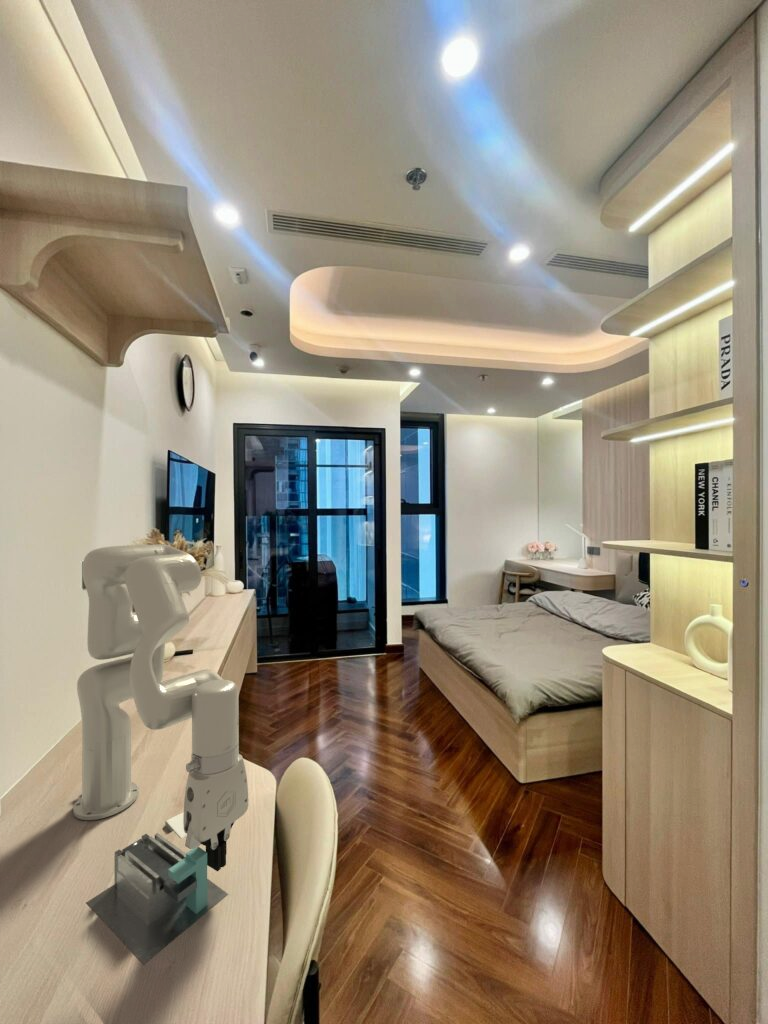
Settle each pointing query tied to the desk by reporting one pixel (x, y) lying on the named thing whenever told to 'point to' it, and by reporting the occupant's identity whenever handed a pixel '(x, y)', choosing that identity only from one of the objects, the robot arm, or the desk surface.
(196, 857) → the clip
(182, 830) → the external hard drive
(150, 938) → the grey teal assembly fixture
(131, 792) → the robot arm
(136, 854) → the dark grey flat bar
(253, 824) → the desk surface
